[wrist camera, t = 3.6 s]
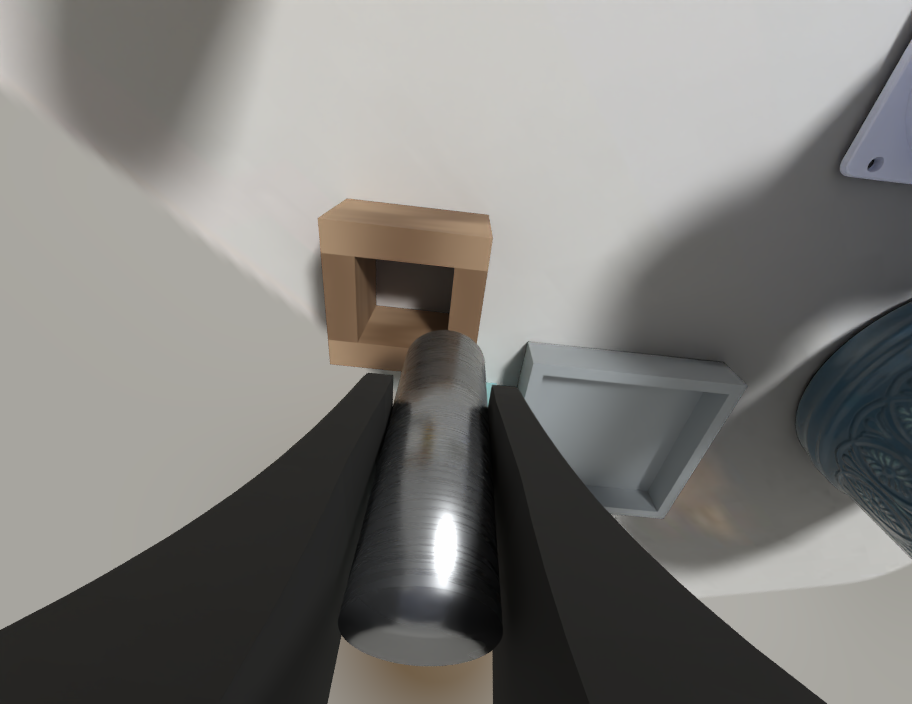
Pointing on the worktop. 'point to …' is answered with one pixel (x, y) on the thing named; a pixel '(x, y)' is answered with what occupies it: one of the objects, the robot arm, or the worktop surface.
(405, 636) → the cylinder
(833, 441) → the canister
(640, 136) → the worktop surface
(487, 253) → the brown wooden square frame
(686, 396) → the tray
